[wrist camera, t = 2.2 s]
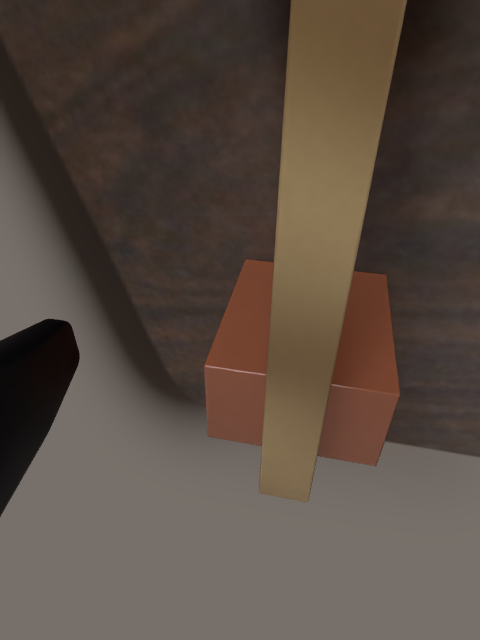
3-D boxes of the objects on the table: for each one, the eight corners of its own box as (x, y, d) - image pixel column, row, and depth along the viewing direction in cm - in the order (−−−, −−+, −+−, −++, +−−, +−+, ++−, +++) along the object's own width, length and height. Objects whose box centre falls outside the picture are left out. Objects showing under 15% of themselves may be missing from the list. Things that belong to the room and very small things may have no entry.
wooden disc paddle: (265, -307, 8) (104, -837, 3) (527, -330, 8) (954, -1093, 2) (248, 332, 18) (204, 483, 13) (362, 347, 17) (366, 515, 12)
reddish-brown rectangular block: (370, 340, 17) (376, 467, 13) (244, 323, 18) (207, 437, 13) (386, 274, 15) (401, 395, 11) (245, 258, 16) (203, 365, 11)
